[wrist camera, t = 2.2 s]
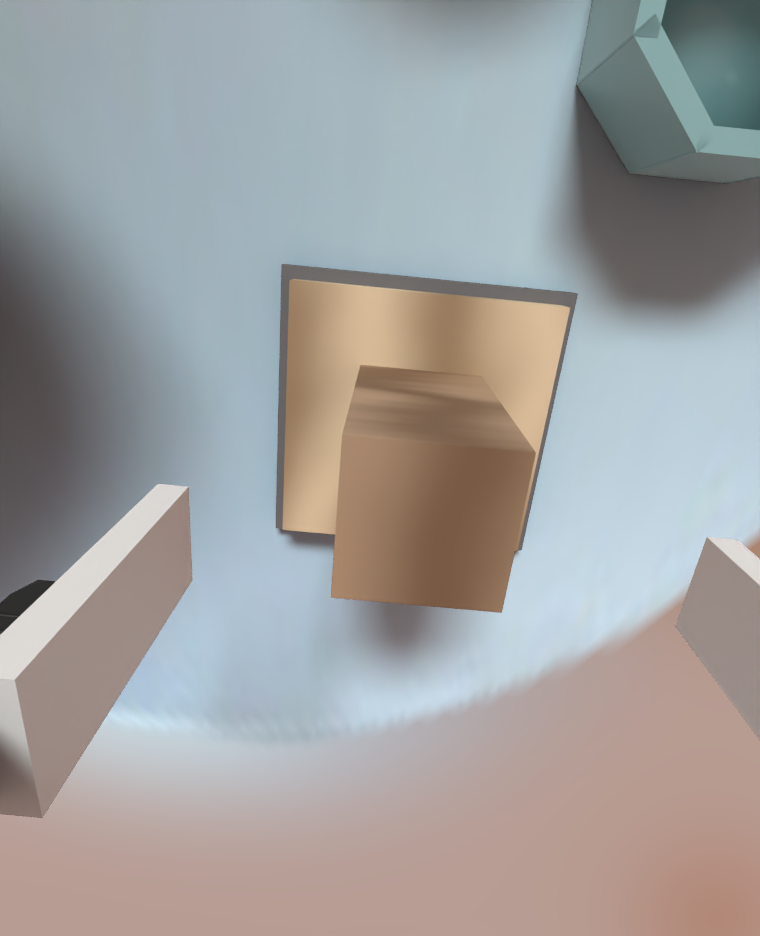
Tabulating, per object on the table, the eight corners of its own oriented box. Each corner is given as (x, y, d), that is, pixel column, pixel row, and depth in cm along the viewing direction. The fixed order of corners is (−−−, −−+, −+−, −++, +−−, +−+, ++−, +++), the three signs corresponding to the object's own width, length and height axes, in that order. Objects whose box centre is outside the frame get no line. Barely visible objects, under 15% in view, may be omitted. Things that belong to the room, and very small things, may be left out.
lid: (286, 519, 26) (228, 669, 17) (293, 278, 22) (222, 301, 13) (513, 540, 26) (579, 699, 17) (562, 305, 22) (686, 346, 13)
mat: (278, 522, 27) (275, 528, 26) (284, 264, 22) (281, 264, 22) (518, 544, 27) (521, 550, 26) (573, 292, 22) (577, 293, 22)
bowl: (560, 166, 21) (608, 143, 16) (621, -152, 17) (704, -298, 13) (791, 190, 21) (905, 174, 16) (897, -121, 18) (1079, -253, 13)
